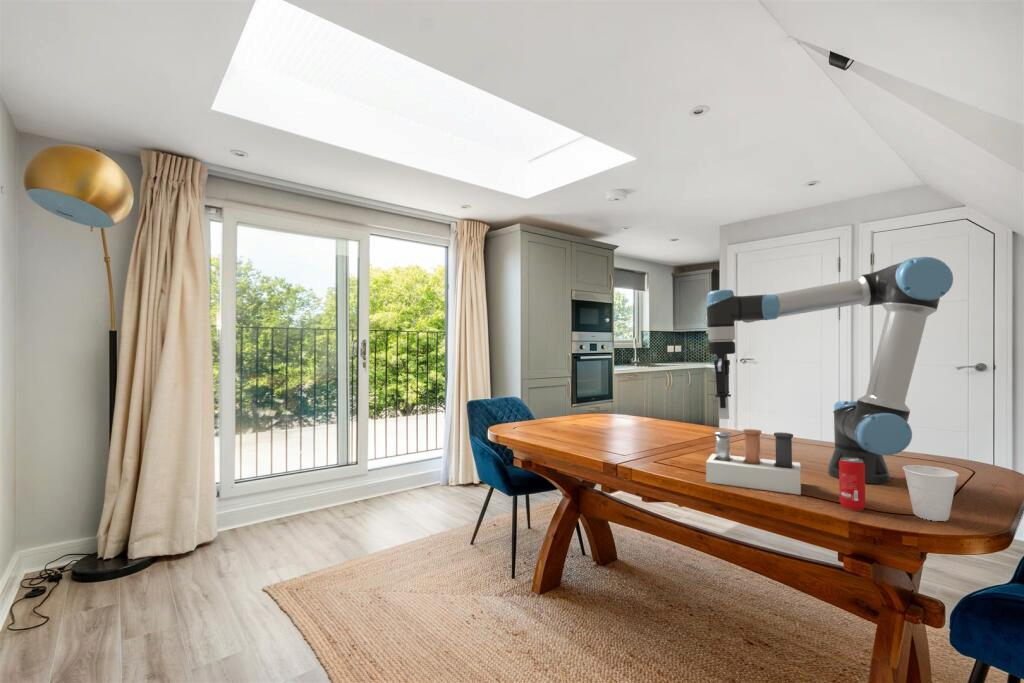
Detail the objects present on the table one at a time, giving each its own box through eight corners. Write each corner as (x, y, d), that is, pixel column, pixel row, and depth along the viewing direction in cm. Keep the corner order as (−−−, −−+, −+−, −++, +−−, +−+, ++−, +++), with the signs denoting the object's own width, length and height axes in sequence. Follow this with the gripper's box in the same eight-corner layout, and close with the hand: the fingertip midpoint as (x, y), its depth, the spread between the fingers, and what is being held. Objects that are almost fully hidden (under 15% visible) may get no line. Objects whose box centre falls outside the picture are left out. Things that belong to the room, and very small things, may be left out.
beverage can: (834, 504, 119) (833, 457, 119) (853, 503, 120) (852, 456, 120) (851, 511, 114) (850, 462, 114) (870, 510, 114) (870, 461, 114)
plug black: (793, 466, 135) (793, 433, 135) (793, 470, 131) (793, 436, 131) (774, 464, 137) (774, 431, 137) (773, 468, 133) (773, 434, 133)
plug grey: (732, 463, 143) (732, 431, 143) (730, 466, 139) (730, 434, 139) (716, 461, 146) (715, 430, 146) (713, 464, 142) (713, 433, 142)
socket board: (800, 483, 137) (800, 462, 137) (800, 494, 127) (800, 472, 127) (712, 472, 150) (712, 453, 150) (706, 482, 139) (705, 461, 139)
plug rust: (762, 462, 139) (761, 429, 139) (761, 465, 135) (760, 432, 135) (744, 460, 141) (743, 428, 141) (742, 463, 137) (742, 431, 137)
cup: (914, 522, 107) (913, 474, 107) (896, 507, 116) (895, 463, 116) (969, 527, 103) (968, 478, 103) (946, 512, 113) (945, 466, 113)
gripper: (711, 341, 150) (713, 414, 150) (704, 341, 139) (707, 420, 139) (737, 340, 146) (739, 416, 146) (732, 340, 135) (734, 422, 135)
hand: (723, 418), depth 142 cm, fingers closed
